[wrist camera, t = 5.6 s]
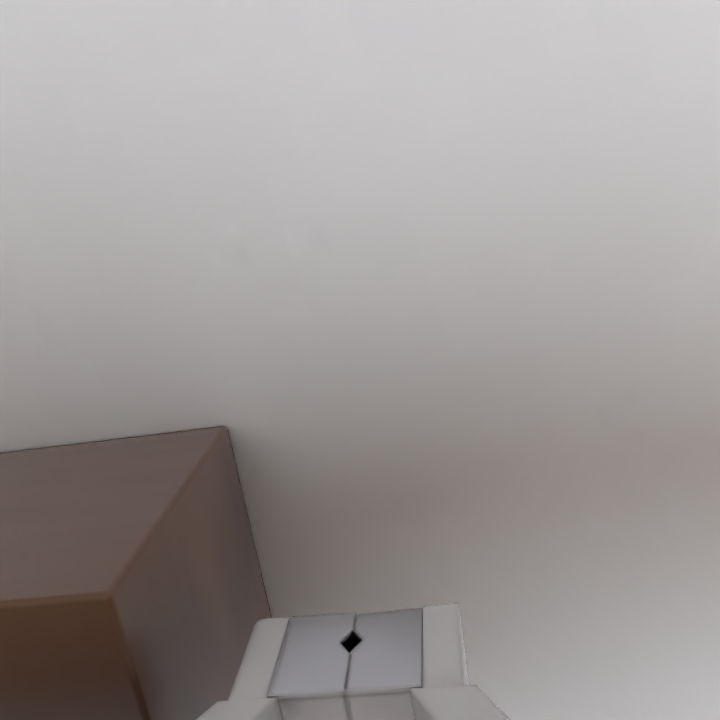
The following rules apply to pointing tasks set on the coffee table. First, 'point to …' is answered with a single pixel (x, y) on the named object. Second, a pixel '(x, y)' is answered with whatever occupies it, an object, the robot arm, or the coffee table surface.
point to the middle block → (124, 578)
